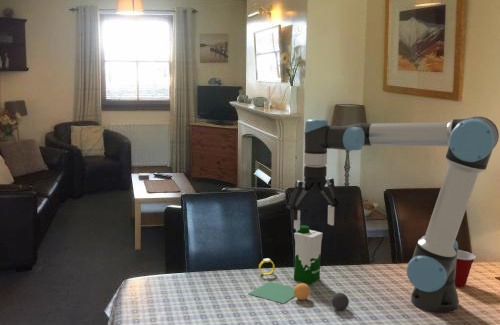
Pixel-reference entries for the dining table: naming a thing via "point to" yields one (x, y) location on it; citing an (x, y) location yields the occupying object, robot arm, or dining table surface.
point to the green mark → (274, 292)
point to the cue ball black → (340, 301)
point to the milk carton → (307, 255)
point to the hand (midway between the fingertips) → (314, 226)
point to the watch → (266, 262)
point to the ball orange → (301, 291)
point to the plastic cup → (463, 267)
